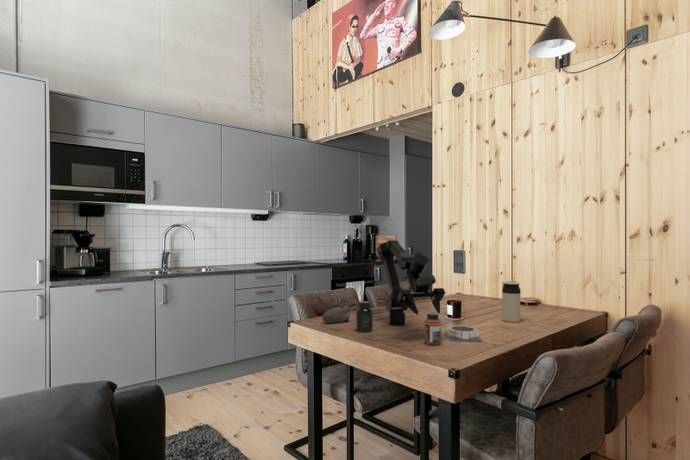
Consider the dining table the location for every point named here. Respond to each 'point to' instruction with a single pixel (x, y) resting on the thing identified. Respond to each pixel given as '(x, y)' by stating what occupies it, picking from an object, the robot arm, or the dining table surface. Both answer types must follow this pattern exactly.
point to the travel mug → (511, 301)
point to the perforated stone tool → (336, 315)
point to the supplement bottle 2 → (432, 329)
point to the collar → (463, 333)
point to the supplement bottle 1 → (364, 317)
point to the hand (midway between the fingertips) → (428, 313)
